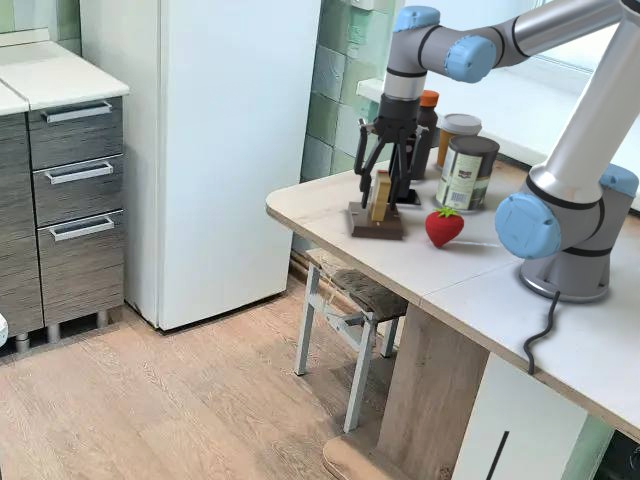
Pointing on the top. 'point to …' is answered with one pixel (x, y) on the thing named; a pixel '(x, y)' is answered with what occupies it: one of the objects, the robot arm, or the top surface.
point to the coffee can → (467, 171)
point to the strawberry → (443, 226)
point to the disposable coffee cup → (455, 131)
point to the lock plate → (375, 223)
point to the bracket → (394, 170)
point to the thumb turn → (380, 195)
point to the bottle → (427, 125)
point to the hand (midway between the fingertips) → (377, 206)
